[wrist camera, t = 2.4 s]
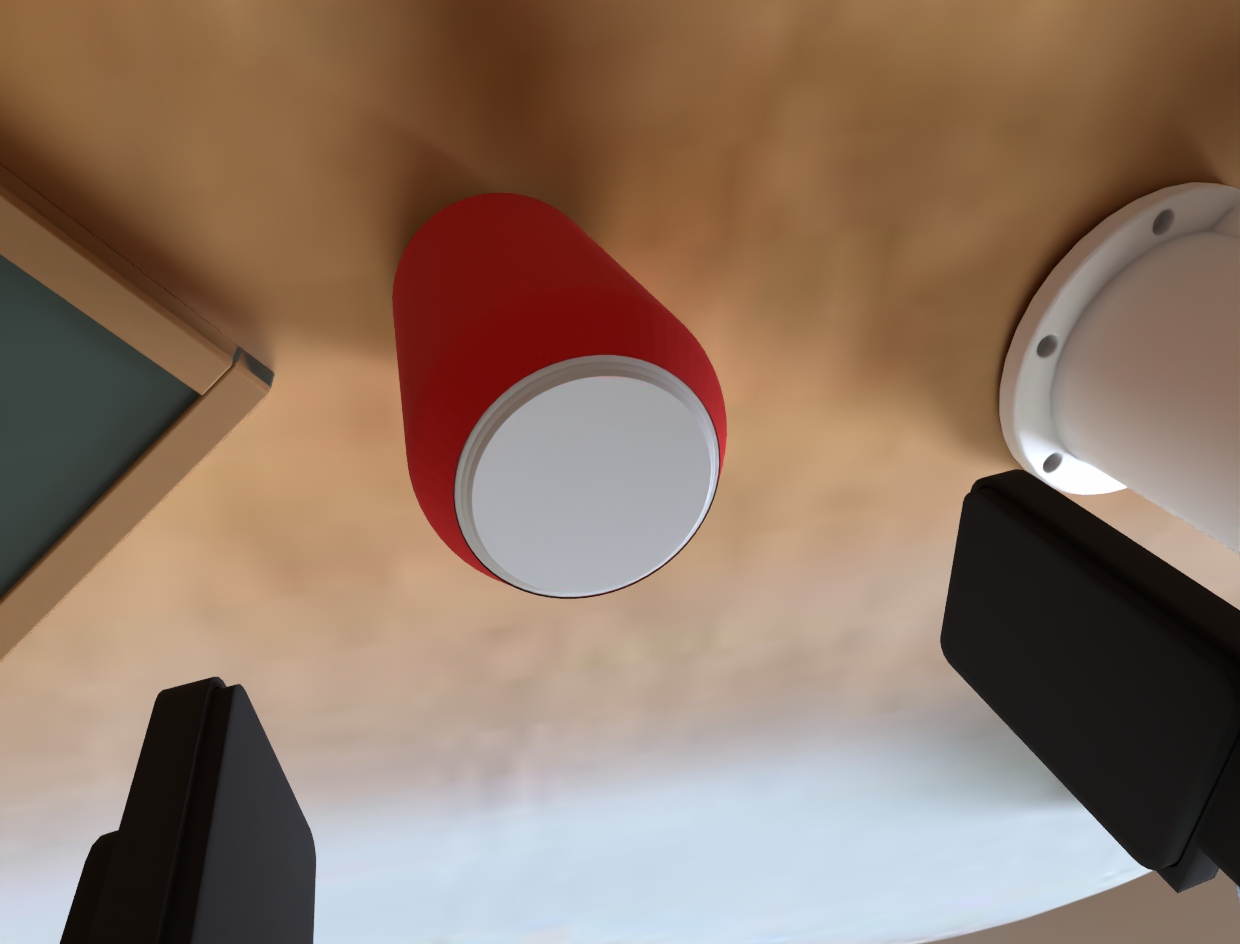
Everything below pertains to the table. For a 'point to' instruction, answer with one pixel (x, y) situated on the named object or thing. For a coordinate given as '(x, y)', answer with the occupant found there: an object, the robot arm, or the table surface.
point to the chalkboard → (94, 402)
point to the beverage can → (549, 402)
